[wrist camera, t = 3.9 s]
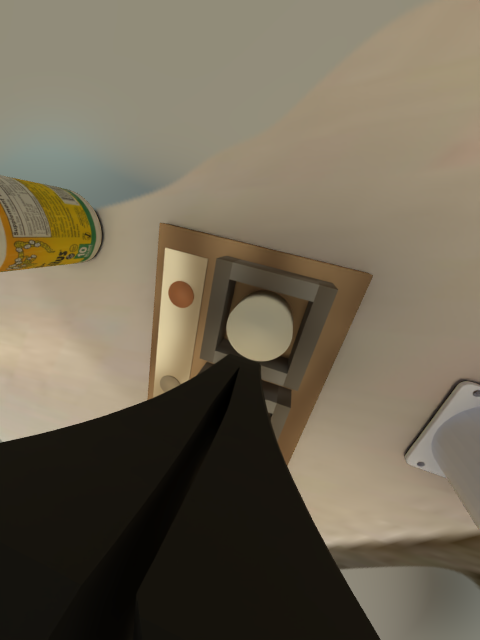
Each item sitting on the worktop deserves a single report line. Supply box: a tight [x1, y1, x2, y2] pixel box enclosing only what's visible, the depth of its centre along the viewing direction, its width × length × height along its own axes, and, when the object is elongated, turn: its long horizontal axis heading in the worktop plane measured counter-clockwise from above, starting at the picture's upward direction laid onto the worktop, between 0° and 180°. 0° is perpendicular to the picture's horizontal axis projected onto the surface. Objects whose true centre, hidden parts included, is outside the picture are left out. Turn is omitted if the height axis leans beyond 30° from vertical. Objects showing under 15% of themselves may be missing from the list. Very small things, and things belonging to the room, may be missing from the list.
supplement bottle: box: [0, 175, 102, 272], centre depth 14 cm, size 5×5×10 cm
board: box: [148, 223, 373, 465], centre depth 19 cm, size 14×26×3 cm, turn 168°
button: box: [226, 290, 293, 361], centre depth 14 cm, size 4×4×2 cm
